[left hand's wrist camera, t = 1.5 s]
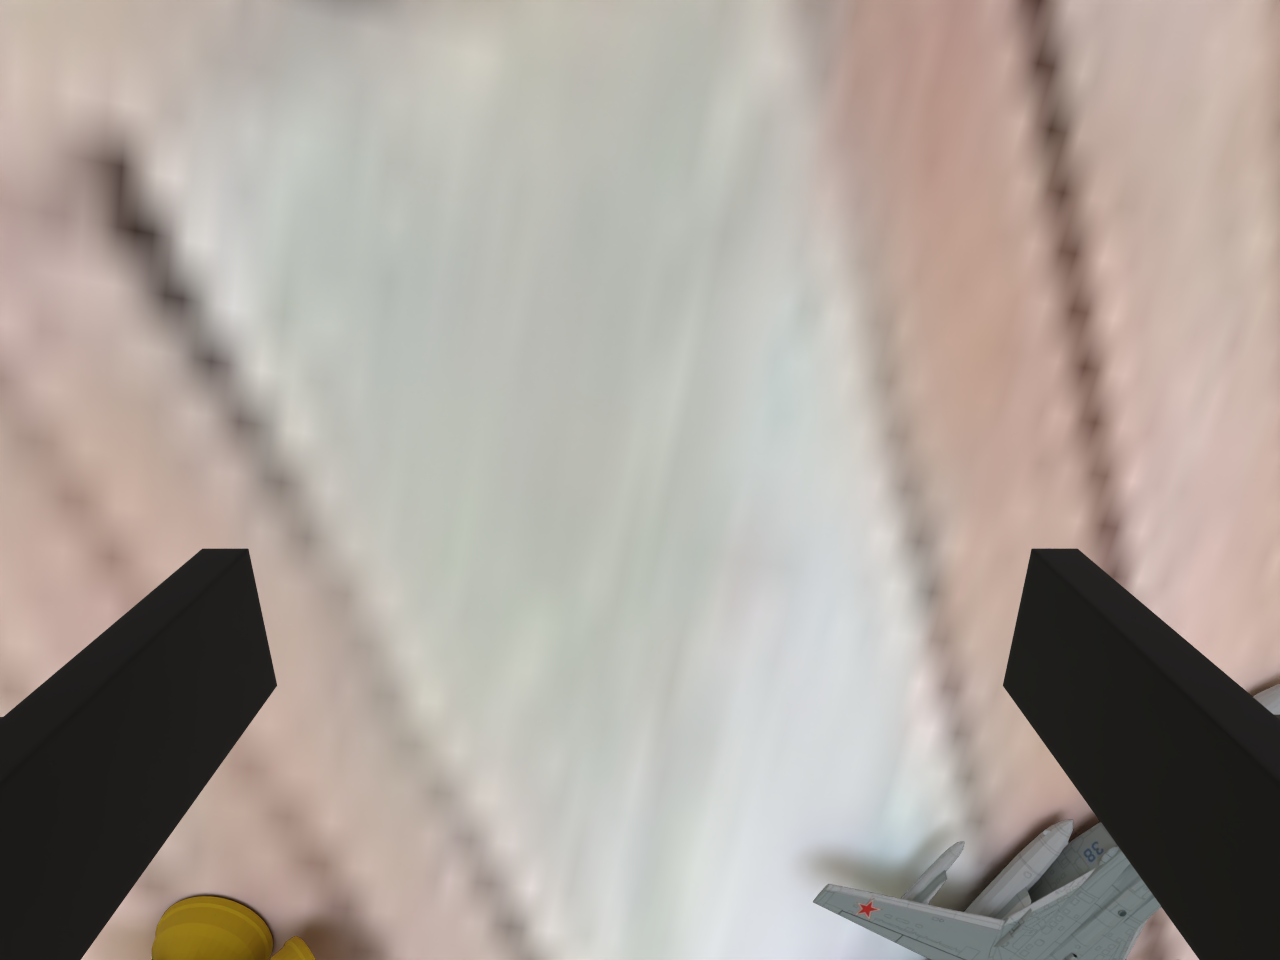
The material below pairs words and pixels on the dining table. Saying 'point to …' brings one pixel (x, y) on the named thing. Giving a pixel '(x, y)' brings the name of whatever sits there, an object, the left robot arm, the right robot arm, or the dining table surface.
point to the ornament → (219, 933)
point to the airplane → (1022, 901)
